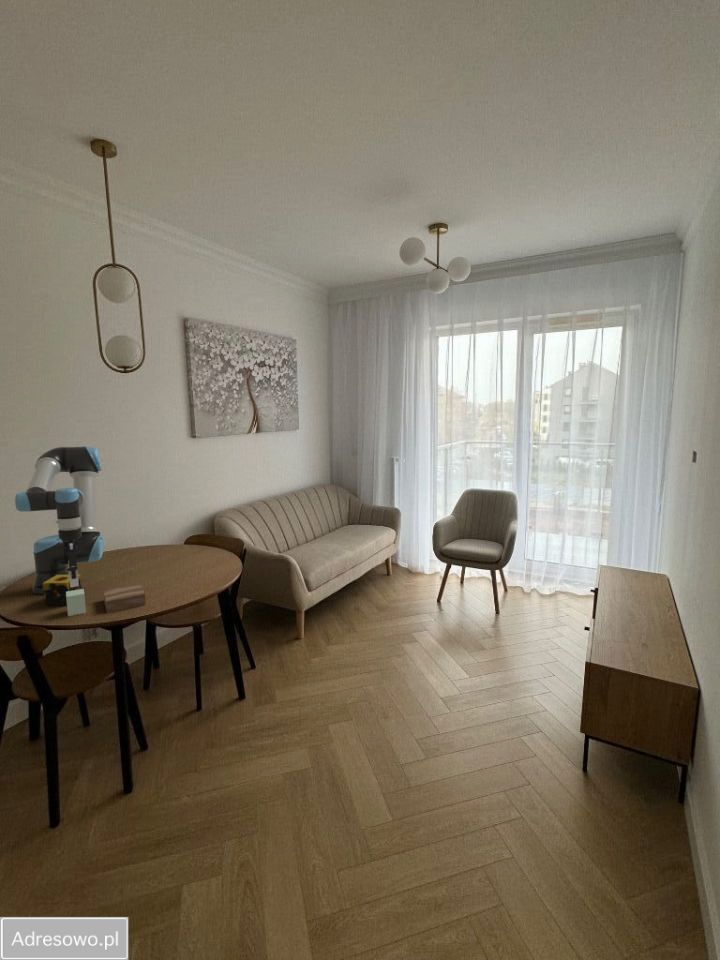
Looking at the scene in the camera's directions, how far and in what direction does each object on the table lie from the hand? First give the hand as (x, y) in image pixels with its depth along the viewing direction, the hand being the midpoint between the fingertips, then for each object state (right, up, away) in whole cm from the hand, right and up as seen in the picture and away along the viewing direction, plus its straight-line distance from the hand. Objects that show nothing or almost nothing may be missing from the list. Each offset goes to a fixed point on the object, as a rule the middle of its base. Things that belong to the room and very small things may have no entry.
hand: (74, 581), depth 181 cm
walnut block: (+14, -12, +11) cm, 22 cm away
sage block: (0, -13, +2) cm, 13 cm away
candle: (-12, -11, +13) cm, 21 cm away
